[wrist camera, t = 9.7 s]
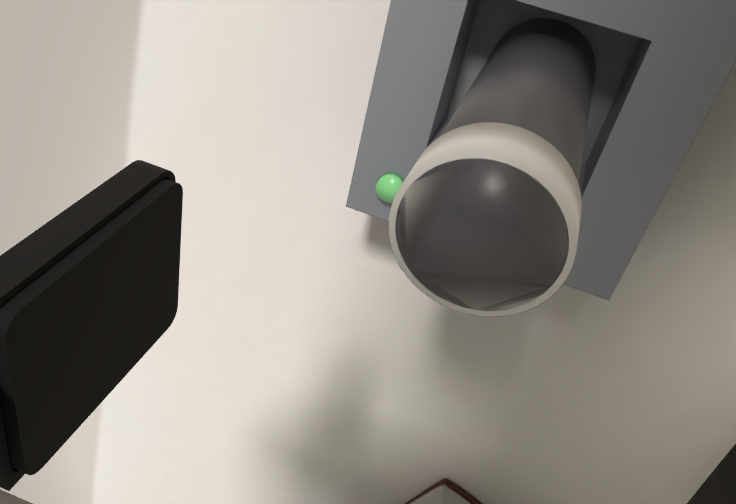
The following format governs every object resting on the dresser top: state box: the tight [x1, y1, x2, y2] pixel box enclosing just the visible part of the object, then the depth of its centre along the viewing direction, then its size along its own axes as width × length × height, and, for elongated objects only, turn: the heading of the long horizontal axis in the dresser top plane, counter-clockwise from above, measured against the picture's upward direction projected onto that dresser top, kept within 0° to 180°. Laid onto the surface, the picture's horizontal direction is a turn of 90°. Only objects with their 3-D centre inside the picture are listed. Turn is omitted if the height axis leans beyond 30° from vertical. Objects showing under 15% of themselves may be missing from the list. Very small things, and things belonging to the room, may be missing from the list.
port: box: [346, 0, 736, 300], centre depth 23 cm, size 12×10×4 cm
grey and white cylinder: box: [389, 18, 596, 316], centre depth 19 cm, size 4×4×12 cm
